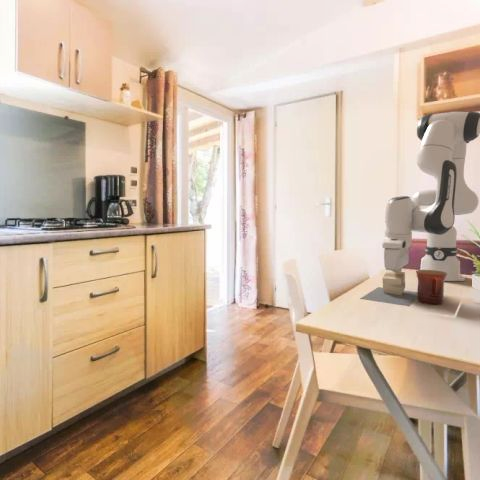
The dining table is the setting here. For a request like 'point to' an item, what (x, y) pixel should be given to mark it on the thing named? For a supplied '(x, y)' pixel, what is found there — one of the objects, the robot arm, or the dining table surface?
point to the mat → (391, 297)
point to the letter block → (394, 282)
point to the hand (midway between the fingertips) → (396, 279)
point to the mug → (430, 286)
